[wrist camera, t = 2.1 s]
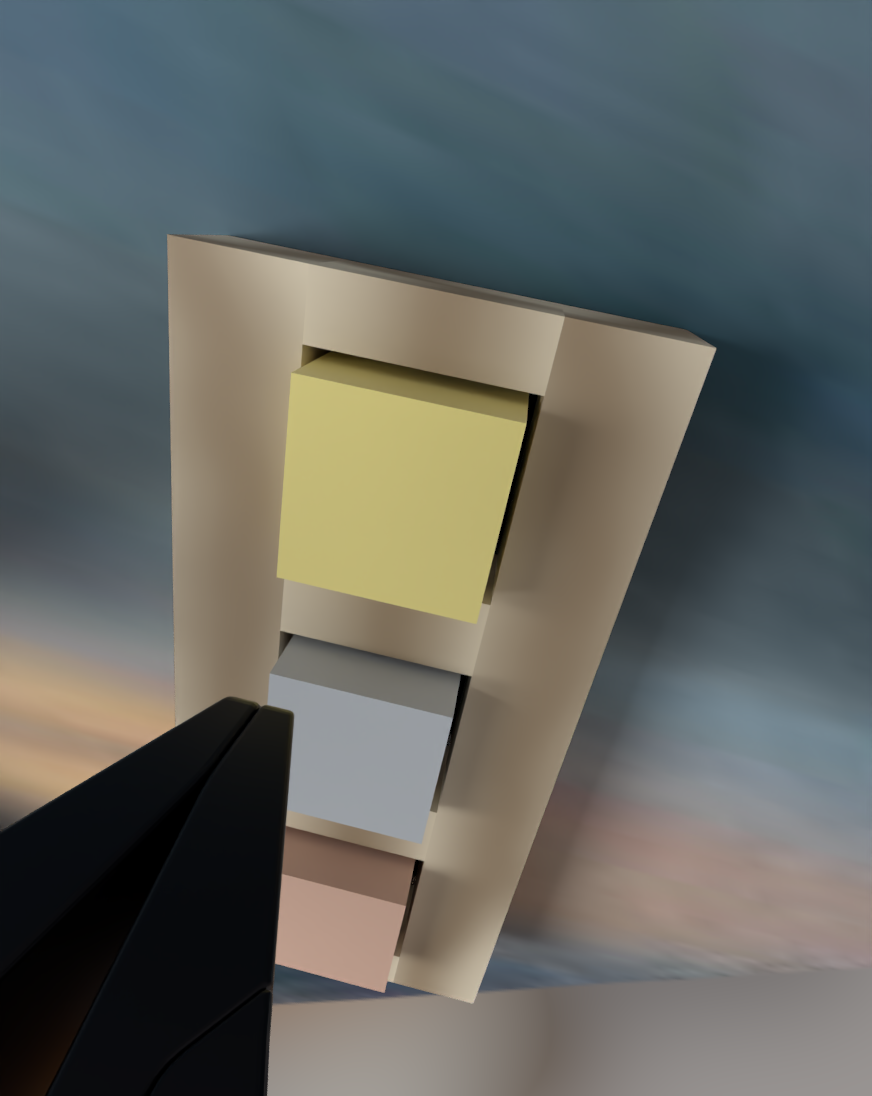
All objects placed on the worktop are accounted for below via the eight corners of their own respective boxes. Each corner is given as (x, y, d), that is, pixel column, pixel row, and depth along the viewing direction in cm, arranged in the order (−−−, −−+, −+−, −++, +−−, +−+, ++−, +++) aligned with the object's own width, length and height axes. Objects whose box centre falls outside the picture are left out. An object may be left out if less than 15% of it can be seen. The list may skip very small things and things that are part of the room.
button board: (213, 859, 28) (178, 925, 25) (228, 235, 16) (167, 234, 14) (479, 929, 27) (473, 1003, 24) (687, 330, 16) (716, 347, 13)
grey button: (294, 734, 22) (260, 802, 19) (306, 614, 19) (269, 673, 17) (436, 769, 21) (421, 844, 19) (465, 651, 19) (452, 718, 17)
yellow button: (315, 527, 18) (276, 577, 15) (333, 350, 16) (290, 372, 13) (485, 566, 18) (476, 624, 15) (529, 392, 16) (526, 423, 13)
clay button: (280, 881, 25) (249, 956, 23) (288, 794, 23) (256, 867, 20) (401, 912, 25) (384, 992, 22) (421, 828, 23) (405, 906, 20)
